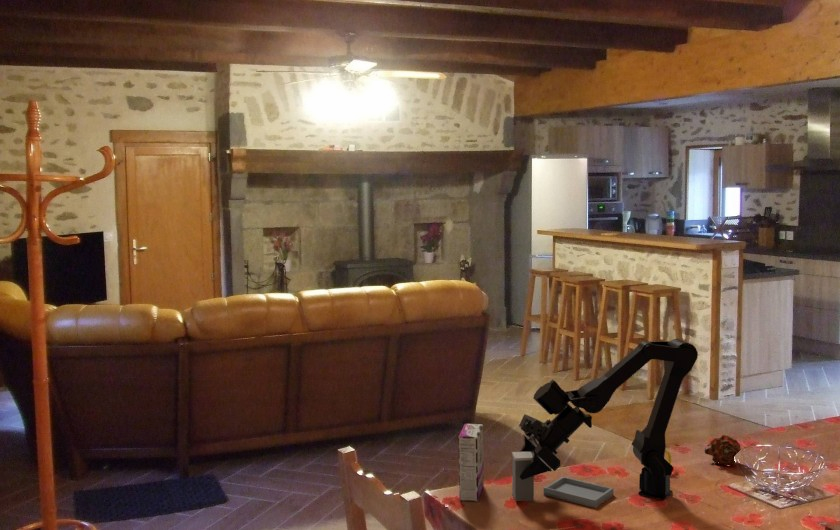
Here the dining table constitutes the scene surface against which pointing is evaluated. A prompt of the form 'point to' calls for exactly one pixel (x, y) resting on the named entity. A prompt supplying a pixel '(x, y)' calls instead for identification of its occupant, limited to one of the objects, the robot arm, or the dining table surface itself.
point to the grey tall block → (520, 488)
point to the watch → (668, 456)
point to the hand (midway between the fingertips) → (517, 471)
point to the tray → (578, 491)
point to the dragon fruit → (723, 450)
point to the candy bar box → (471, 462)
